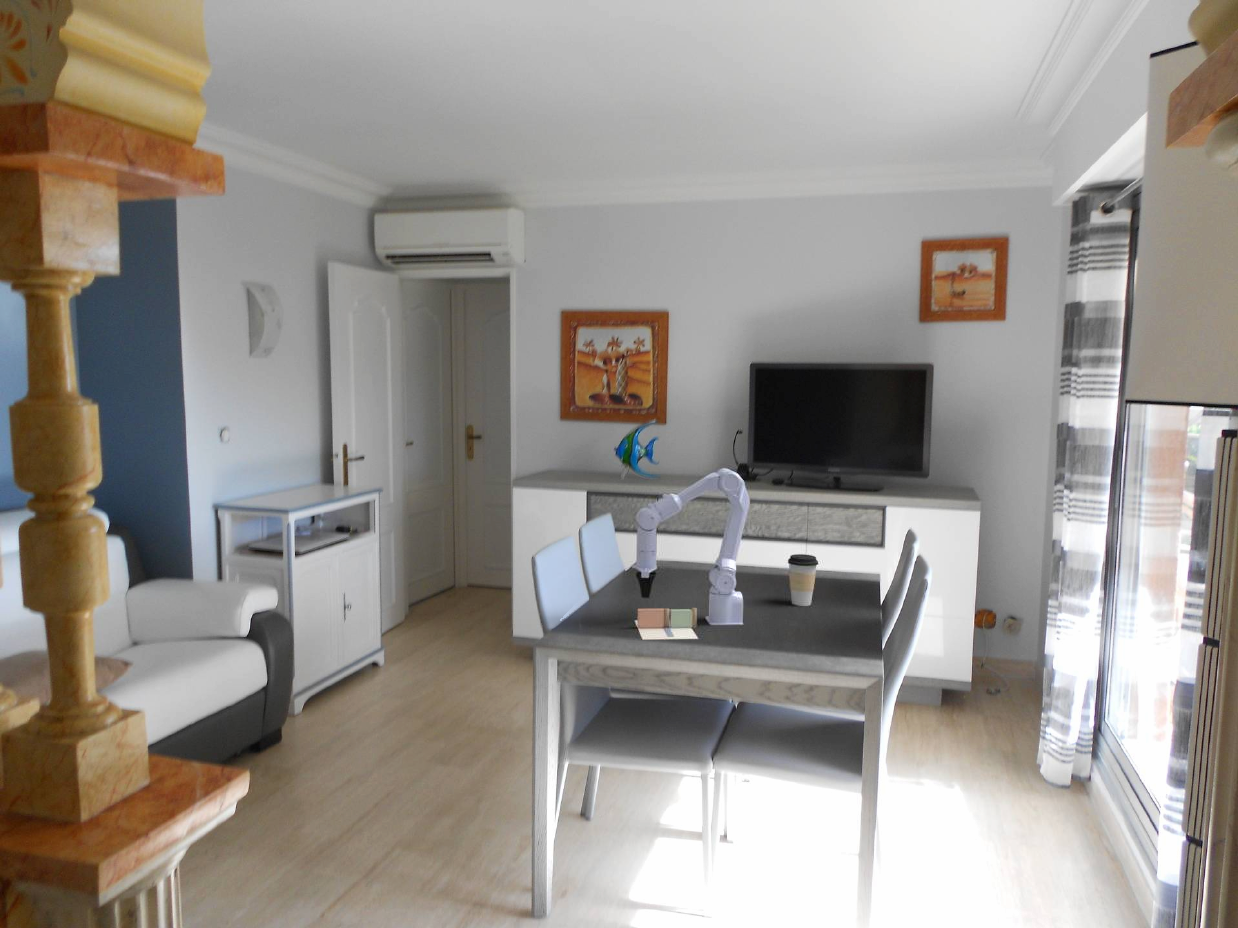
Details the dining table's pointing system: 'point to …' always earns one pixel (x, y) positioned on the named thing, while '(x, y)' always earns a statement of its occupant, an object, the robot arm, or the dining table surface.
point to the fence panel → (653, 617)
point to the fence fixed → (683, 618)
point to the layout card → (666, 632)
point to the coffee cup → (802, 578)
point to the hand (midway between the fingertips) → (645, 597)
